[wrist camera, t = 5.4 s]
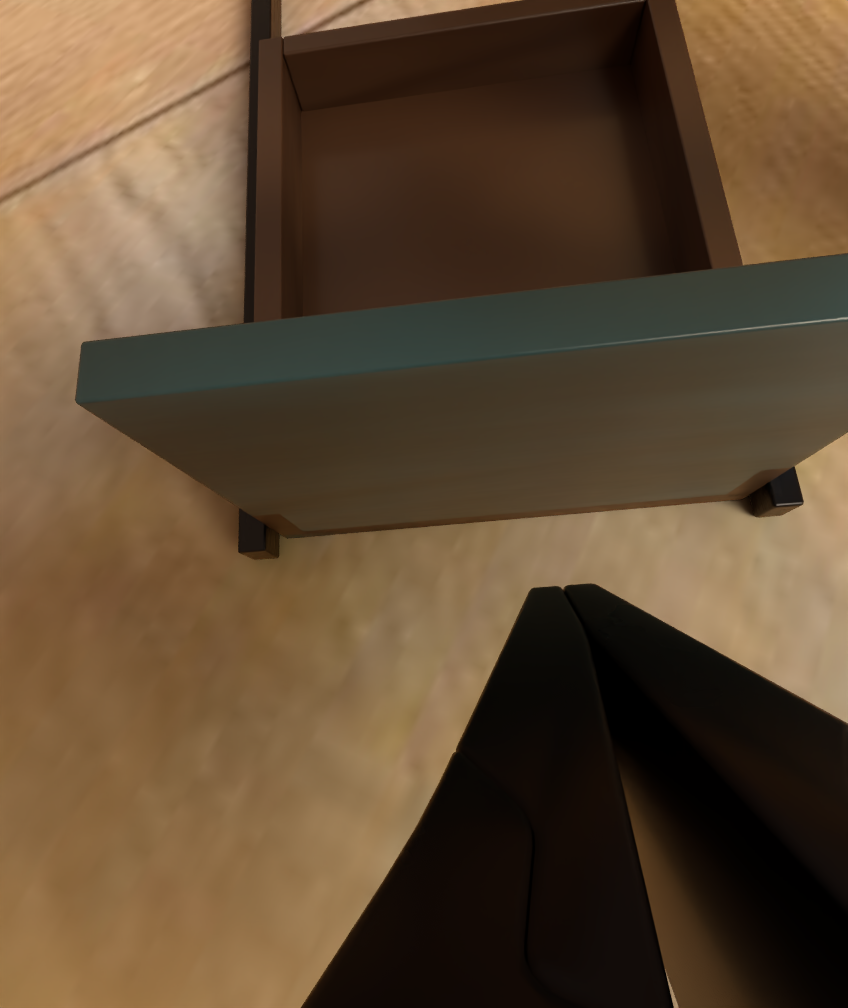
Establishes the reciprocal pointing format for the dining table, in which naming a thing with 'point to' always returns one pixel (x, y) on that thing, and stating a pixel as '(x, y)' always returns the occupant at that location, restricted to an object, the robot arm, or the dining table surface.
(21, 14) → the dining table surface
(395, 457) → the tray
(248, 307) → the frame
